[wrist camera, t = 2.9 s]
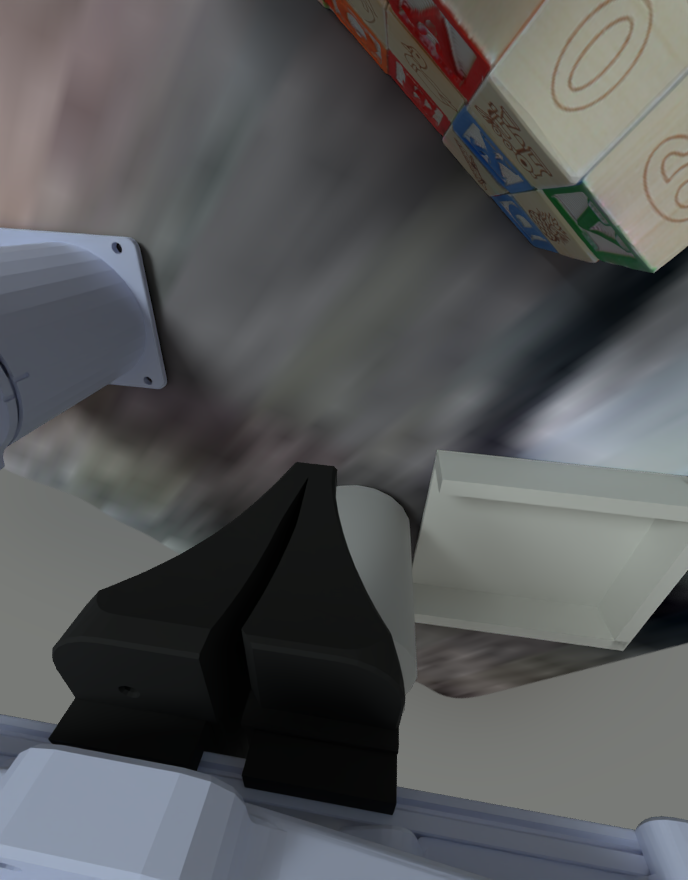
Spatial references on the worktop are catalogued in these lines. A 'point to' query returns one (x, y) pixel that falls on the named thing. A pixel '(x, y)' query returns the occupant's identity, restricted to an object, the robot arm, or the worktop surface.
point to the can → (383, 563)
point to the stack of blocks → (553, 111)
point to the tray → (548, 548)
